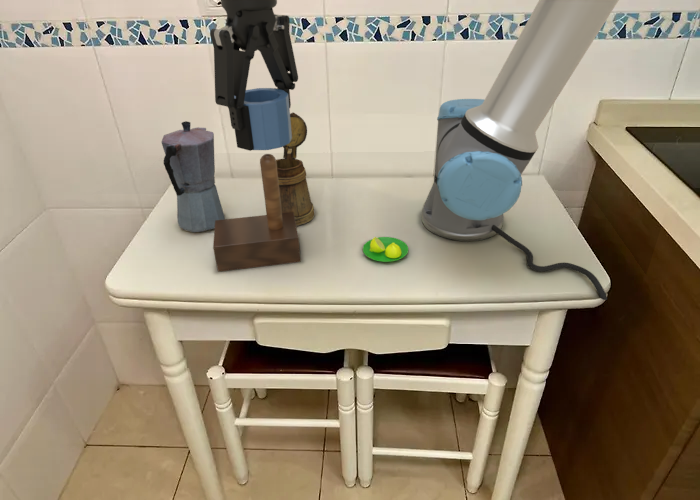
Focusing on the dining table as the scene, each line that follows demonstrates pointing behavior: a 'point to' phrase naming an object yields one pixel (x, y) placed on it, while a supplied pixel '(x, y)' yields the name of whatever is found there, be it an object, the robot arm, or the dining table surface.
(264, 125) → the blue faceted cup
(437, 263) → the dining table surface
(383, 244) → the green plate
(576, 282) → the dining table surface
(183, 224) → the moka pot
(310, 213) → the wooden mug
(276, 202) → the peg box
